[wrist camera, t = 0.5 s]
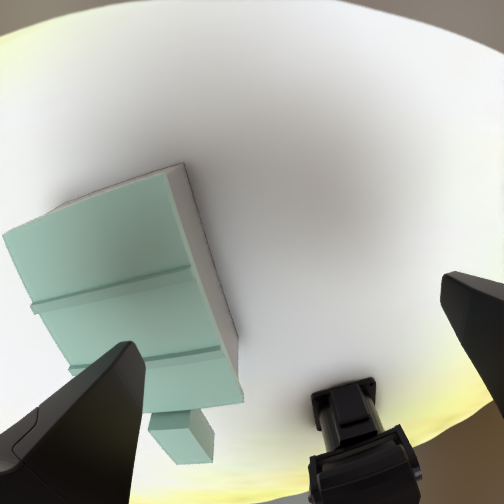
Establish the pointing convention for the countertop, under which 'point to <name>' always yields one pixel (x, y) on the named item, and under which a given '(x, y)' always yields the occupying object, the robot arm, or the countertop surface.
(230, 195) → the countertop surface
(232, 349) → the tub
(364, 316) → the countertop surface
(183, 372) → the lid
